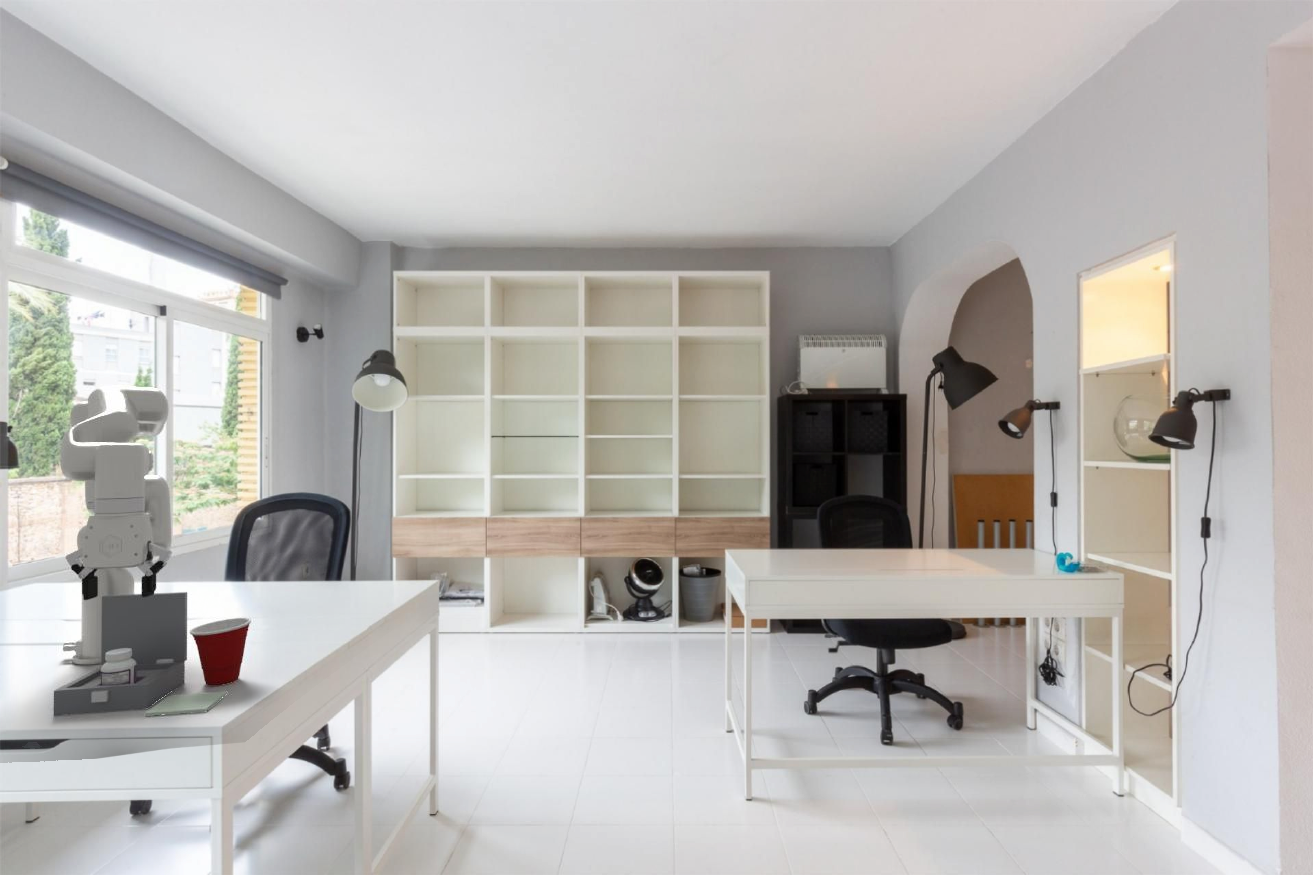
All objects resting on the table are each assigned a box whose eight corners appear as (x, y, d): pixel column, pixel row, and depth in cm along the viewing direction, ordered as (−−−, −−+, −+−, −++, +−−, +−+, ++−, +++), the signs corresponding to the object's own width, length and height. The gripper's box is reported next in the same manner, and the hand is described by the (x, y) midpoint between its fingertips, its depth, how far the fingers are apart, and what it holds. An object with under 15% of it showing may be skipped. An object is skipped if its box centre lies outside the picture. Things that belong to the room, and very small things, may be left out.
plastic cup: (197, 676, 142) (197, 619, 143) (256, 670, 146) (256, 614, 147) (182, 694, 132) (182, 632, 132) (245, 686, 136) (245, 627, 136)
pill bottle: (113, 696, 131) (114, 647, 131) (142, 695, 131) (143, 646, 132) (93, 707, 126) (93, 655, 126) (123, 706, 126) (123, 654, 126)
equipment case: (51, 717, 121) (52, 613, 121) (104, 687, 136) (104, 595, 137) (145, 710, 124) (145, 609, 124) (186, 681, 139) (187, 591, 140)
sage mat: (144, 716, 121) (144, 713, 121) (170, 698, 130) (170, 695, 130) (206, 712, 123) (206, 708, 123) (227, 694, 132) (227, 691, 132)
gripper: (54, 510, 124) (53, 604, 123) (160, 507, 127) (160, 598, 127) (80, 507, 131) (80, 595, 131) (180, 504, 135) (179, 591, 134)
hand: (119, 597), depth 129 cm, fingers open, 9 cm apart
